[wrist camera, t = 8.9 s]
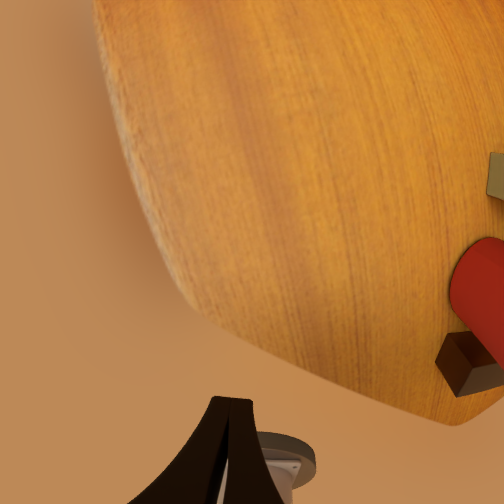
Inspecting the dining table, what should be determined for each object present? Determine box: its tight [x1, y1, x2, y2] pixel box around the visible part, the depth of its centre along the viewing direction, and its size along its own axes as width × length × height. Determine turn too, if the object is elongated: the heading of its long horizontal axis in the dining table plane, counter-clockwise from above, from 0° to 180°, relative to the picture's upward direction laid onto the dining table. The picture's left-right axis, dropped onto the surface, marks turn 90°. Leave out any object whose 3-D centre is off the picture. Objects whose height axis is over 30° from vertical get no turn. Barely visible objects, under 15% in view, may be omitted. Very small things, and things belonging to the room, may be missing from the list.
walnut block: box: [435, 331, 504, 398], centre depth 17 cm, size 3×8×4 cm, turn 87°
